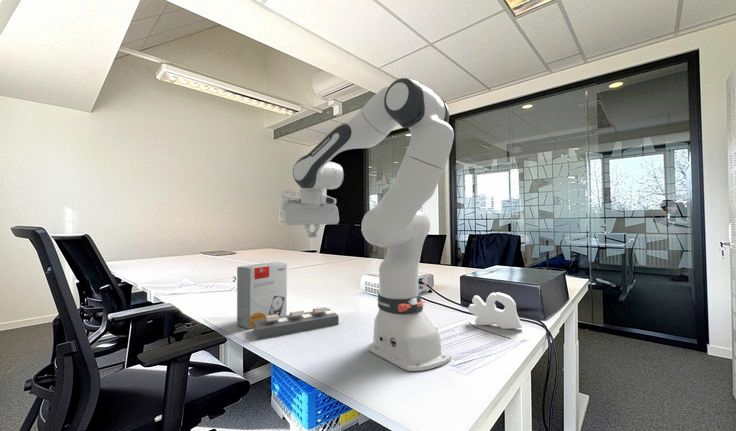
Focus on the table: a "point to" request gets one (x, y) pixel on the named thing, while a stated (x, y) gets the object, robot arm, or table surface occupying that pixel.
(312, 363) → the table surface
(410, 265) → the robot arm
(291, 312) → the rocker
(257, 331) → the power strip
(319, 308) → the rocker
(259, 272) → the hard drive box
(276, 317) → the rocker
